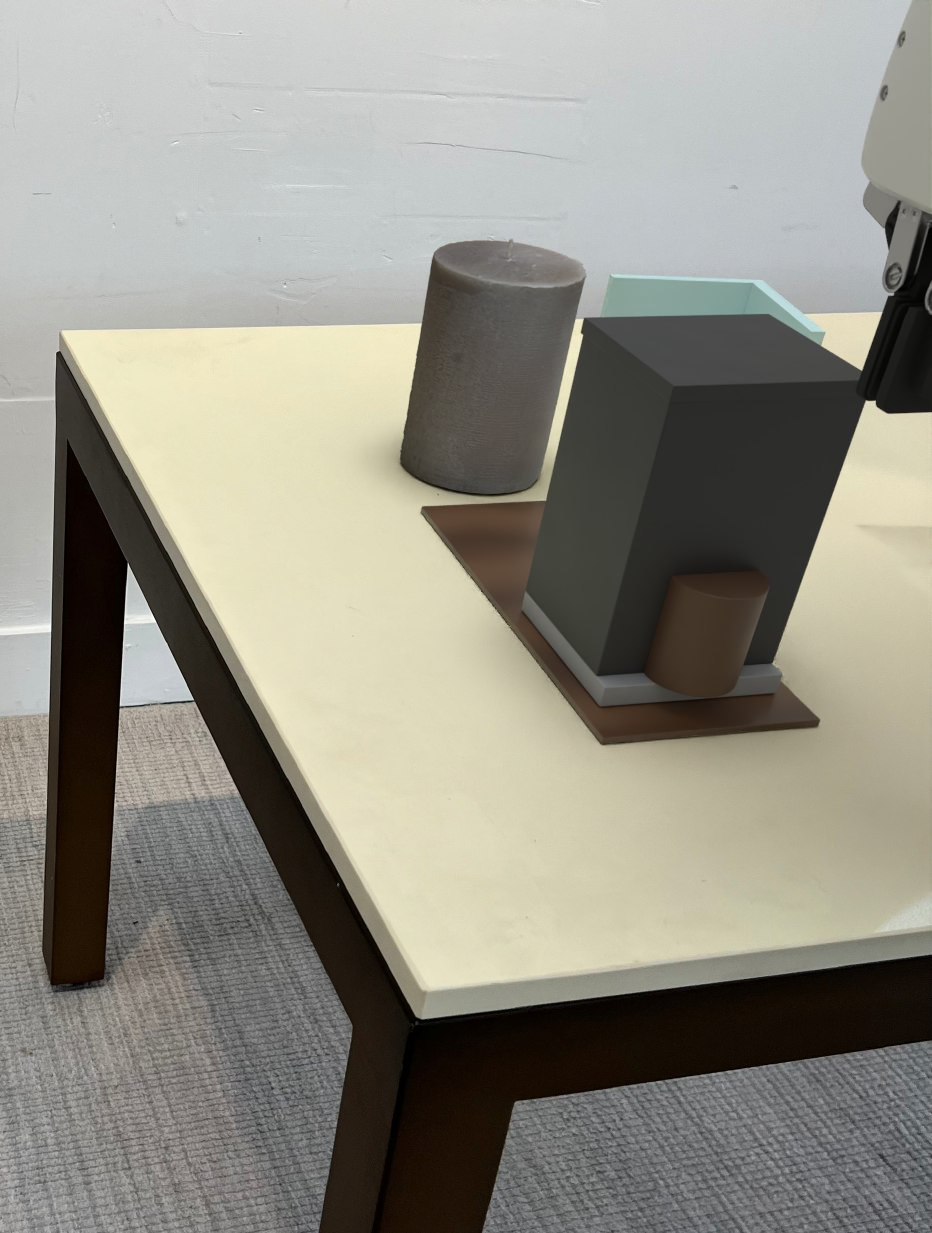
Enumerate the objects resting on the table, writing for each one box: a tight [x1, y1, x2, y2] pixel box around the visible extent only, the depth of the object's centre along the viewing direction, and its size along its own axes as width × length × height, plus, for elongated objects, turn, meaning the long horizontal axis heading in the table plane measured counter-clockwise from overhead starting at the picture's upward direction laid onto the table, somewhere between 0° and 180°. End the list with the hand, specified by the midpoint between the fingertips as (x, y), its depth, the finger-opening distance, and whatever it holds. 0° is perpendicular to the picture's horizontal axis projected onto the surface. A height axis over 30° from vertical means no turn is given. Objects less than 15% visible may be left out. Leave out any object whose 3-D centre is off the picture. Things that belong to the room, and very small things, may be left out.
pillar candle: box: [399, 238, 587, 495], centre depth 91 cm, size 10×10×15 cm
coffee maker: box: [521, 314, 867, 707], centre depth 70 cm, size 12×10×16 cm
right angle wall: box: [599, 273, 826, 346], centre depth 106 cm, size 12×12×8 cm
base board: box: [420, 500, 821, 745], centre depth 80 cm, size 26×12×1 cm, turn 11°
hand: (902, 402), depth 55 cm, fingers closed
